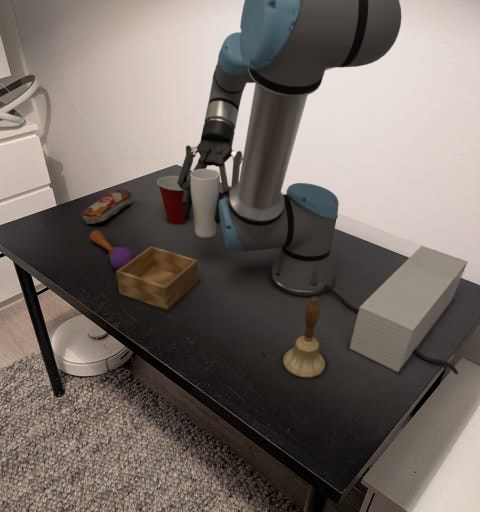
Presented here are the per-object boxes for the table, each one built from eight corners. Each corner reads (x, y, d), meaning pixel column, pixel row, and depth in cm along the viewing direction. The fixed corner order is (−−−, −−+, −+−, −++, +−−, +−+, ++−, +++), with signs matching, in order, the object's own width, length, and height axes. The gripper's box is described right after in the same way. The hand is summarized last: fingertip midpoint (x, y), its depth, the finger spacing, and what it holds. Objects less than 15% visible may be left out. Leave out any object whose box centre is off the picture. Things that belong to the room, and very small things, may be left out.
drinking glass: (191, 227, 114) (189, 168, 104) (218, 227, 114) (218, 168, 105) (192, 240, 108) (190, 179, 99) (220, 240, 109) (221, 179, 100)
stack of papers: (398, 372, 89) (413, 330, 82) (349, 348, 94) (359, 306, 87) (452, 300, 109) (467, 261, 102) (409, 283, 114) (421, 245, 107)
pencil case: (71, 219, 134) (68, 203, 131) (121, 198, 147) (119, 183, 144) (97, 230, 129) (94, 214, 126) (146, 207, 142) (144, 192, 139)
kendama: (106, 224, 124) (139, 251, 110) (106, 245, 126) (138, 273, 113) (85, 226, 120) (115, 253, 107) (85, 247, 123) (115, 276, 110)
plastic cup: (203, 222, 135) (202, 183, 128) (170, 231, 130) (168, 191, 123) (185, 209, 142) (183, 171, 135) (153, 216, 137) (150, 178, 130)
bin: (198, 281, 111) (197, 260, 107) (167, 310, 101) (165, 288, 98) (152, 267, 115) (150, 245, 112) (119, 293, 106) (115, 271, 102)
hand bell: (329, 377, 87) (344, 311, 77) (286, 378, 86) (296, 312, 76) (320, 348, 93) (332, 283, 83) (280, 349, 93) (288, 284, 83)
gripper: (261, 139, 110) (244, 230, 107) (183, 131, 113) (165, 219, 110) (258, 122, 102) (240, 219, 100) (175, 114, 105) (156, 208, 103)
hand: (201, 219), depth 105 cm, fingers closed on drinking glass, 7 cm apart
